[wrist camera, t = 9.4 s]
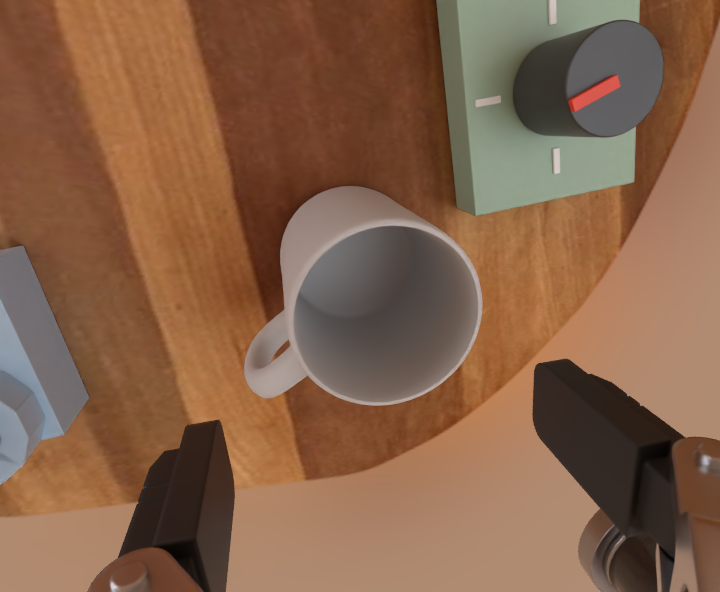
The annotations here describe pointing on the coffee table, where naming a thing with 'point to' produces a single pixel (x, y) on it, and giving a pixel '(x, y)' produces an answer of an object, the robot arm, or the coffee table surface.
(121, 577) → the robot arm
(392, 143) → the coffee table surface
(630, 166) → the panel
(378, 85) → the coffee table surface
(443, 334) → the mug
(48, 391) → the button box
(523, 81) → the dial
